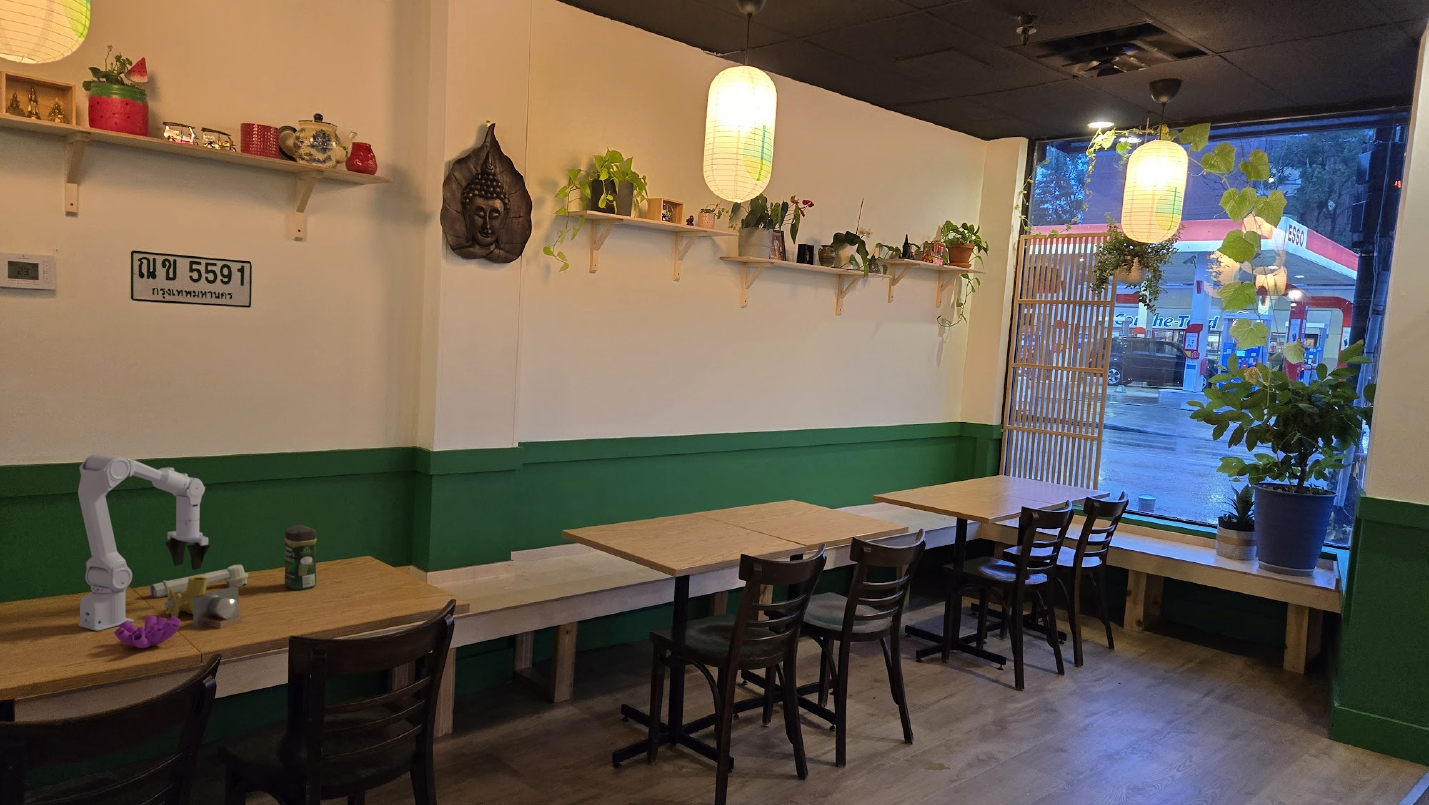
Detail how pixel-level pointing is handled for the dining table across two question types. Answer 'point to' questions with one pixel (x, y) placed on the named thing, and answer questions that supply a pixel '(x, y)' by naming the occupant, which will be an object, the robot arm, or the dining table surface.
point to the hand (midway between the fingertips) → (187, 567)
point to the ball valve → (185, 596)
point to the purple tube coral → (147, 631)
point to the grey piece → (230, 576)
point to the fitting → (217, 608)
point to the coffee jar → (300, 557)
